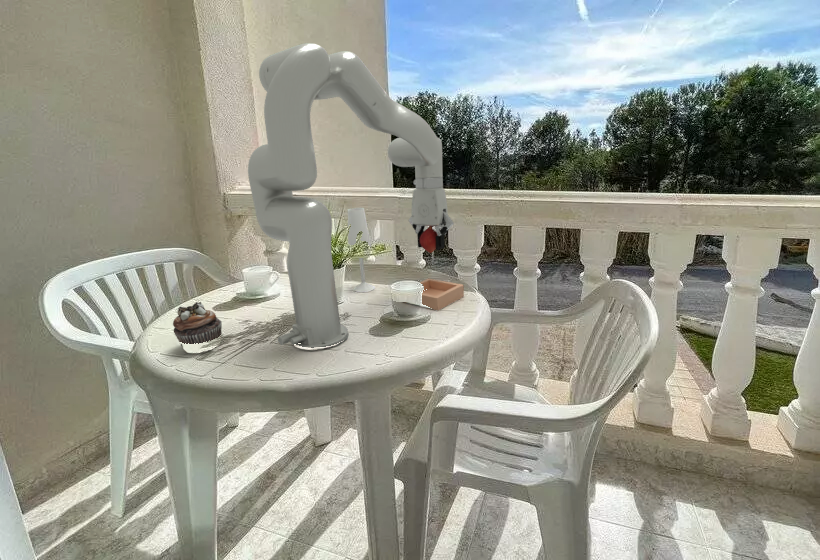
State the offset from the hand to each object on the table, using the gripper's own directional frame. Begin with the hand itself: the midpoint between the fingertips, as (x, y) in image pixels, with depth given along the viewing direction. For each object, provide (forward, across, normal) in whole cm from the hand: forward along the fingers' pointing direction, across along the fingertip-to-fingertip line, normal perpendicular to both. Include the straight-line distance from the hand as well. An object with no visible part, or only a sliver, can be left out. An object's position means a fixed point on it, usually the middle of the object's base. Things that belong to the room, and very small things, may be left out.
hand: (431, 247), depth 122 cm
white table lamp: (+12, -17, -12) cm, 24 cm away
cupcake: (+14, -21, -59) cm, 64 cm away
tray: (+12, +7, -9) cm, 16 cm away
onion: (+2, 0, 0) cm, 2 cm away
